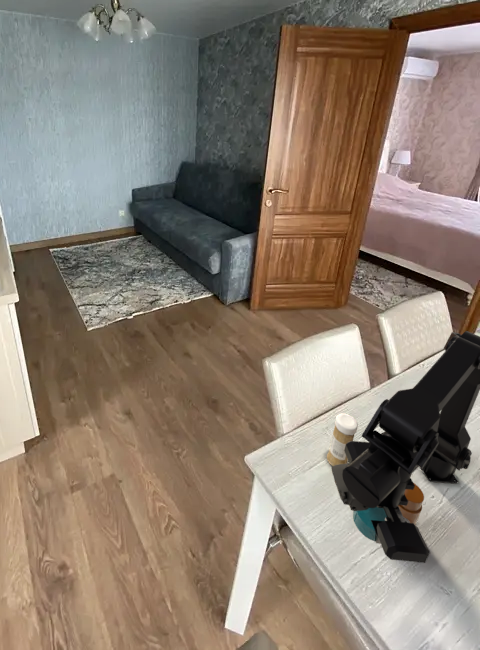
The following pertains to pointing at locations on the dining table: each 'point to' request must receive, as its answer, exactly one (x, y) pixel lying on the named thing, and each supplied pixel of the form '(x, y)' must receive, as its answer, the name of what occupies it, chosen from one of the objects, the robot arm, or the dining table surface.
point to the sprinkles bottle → (341, 438)
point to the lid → (368, 520)
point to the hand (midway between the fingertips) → (370, 522)
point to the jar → (412, 504)
